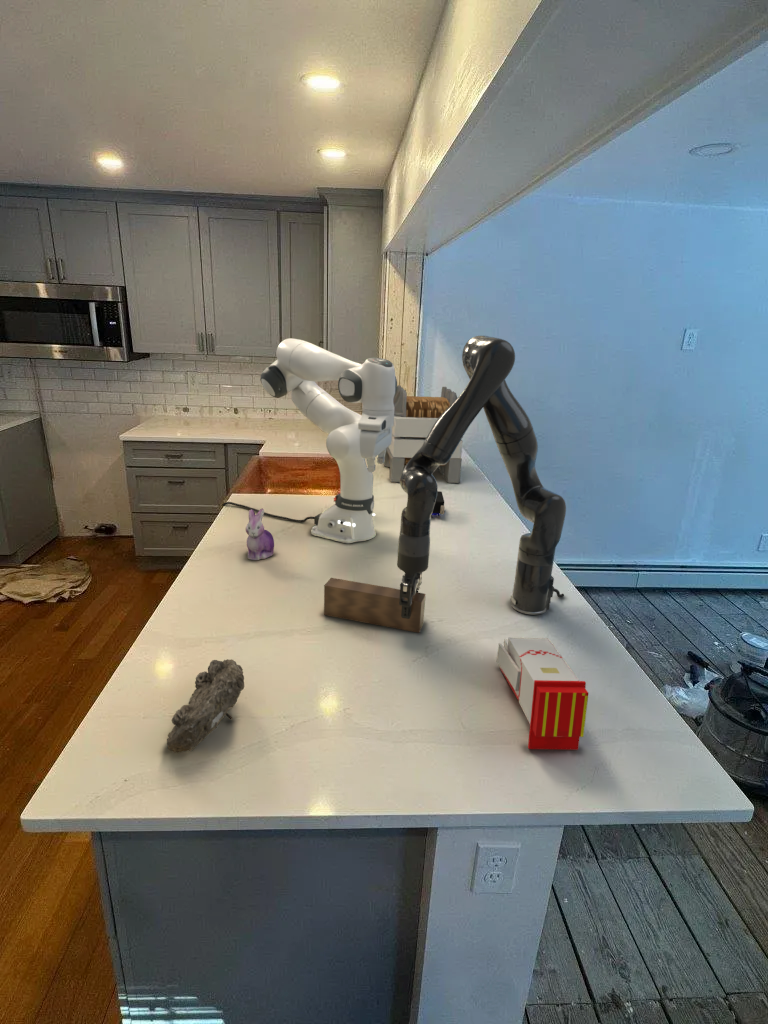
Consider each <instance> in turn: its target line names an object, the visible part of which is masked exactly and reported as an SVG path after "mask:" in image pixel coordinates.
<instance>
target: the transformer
mask: <svg viewBox="0 0 768 1024" xmlns="http://www.w3.org/2000/svg"><path fill="white" fill-rule="evenodd" d="M440 393H441V394H440V396H415V395H414V396H413V395H412V396H411V395H407V394H408V393H407V390H406V389H404V388H403V387H402V385H399V384H397V389H396V392H395V395H394V399H393V404H394V425H393V426H392V441H391V445H390V446H388V447H387V448H386V453H385V457H384V463H383V464H382V465H383V466H384V467H388V468H389V475H388V476H389V477H388V478H389V480H390V482H391V483H400V477H401V474H402V471H403V469H404V468H405V466H406V465H407V463H408V462H409V461H410V460H411V458H412V457H413V456H414V455H415V453H416V452H417V451H418V450H419V449H420V448H421V447H422V445H423V443H424V441H426V440H425V439H426V438H427V436H428V434H429V432H430V430H431V429H432V427H433V425H434V424H435V422H436V421H437V419H438V418H439V417H440V416H441V415H442V413H443V412H444V411H445V410H446V409H447V408H448V407H449V406H451V405H452V404H453V403H454V402H455V400H456V399H457V398H458V395H457V392H455V391H453V390H452V389H451V388H447V386H442V387H441V392H440ZM463 438H464V436H463V437H462V439H463ZM462 439H461V441H460V442H459V444H458V446H457V448H456V449H455V451H454V453H453V455H452V456H451V458H450V460H449V461H448V462H447V463H446V464H445V465H439V466H438V467H437V470H438V469H439V473H440V474H441V475H443V478H444V479H445V481H446V482H447V483H449V484H455V483H456V484H459V483H461V472H462V461H463V460H462V453H463V442H464V441H463V440H462Z"/></svg>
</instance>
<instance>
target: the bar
mask: <svg viewBox="0 0 768 1024" xmlns="http://www.w3.org/2000/svg"><path fill="white" fill-rule="evenodd" d="M411 592H412V591H411ZM323 594H324V595H323V616H327V617H333V618H338V619H343V620H349V621H355V622H360V623H366V624H370V625H376V626H381V627H386V628H391V629H396V630H402V631H406V632H407V631H408V632H413V633H418V634H419V633H420V632H421V630H422V628H423V625H424V623H425V622H424V620H425V608H426V595H427V594H426V593H423V592H419V591H418V592H416V594H415V596H414V597H413V599H412V605H411V617H410V619H406V618H402V617H401V611H402V606H401V605H399V600H400V588H395V587H388V586H382V585H376V584H371V583H365V582H361V581H360V582H359V581H353V580H348V579H342V578H335V577H329V579H328V580H327V581H326V583H325V584H323ZM404 600H408V599H407V598H405V599H404Z"/></svg>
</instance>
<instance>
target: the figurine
mask: <svg viewBox="0 0 768 1024" xmlns="http://www.w3.org/2000/svg"><path fill="white" fill-rule="evenodd" d="M258 510H259V512H256V513H255V511H253V510H252V509H251V510H250V509H249V510H248V522H247V524H246V526H245V533H246V534H247V538H246V542H245V543H246V548H247V550H248V551H247V559H248V560H252V561H259V560H265V559H267V558H270V557H272V556H273V555H274V552H275V551H274V550H275V540H274V536H273V534H272V533H271V532H270V531H269V530H268V529H265V526H264V523H263V519H264V516H265V515H264V512H265V509H264V508H260V509H258Z"/></svg>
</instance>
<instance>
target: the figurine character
mask: <svg viewBox="0 0 768 1024" xmlns="http://www.w3.org/2000/svg"><path fill="white" fill-rule="evenodd" d="M441 515H445V499H444V495H443V491H439V490H437V498H436V502H435V505H434V509H433V512H432V514H431V519H433V518H434V517H433V516H437V518H438V519H441Z"/></svg>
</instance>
